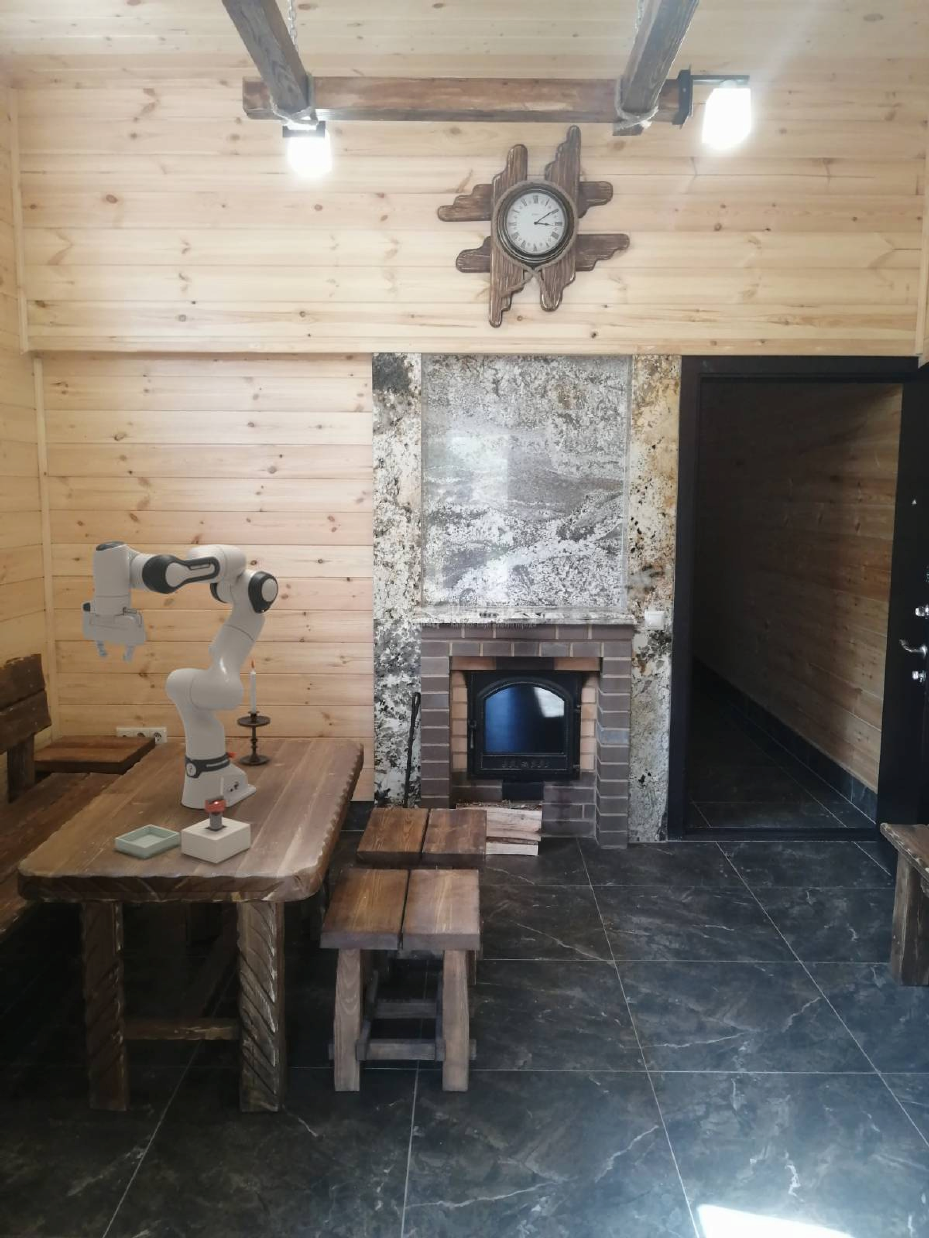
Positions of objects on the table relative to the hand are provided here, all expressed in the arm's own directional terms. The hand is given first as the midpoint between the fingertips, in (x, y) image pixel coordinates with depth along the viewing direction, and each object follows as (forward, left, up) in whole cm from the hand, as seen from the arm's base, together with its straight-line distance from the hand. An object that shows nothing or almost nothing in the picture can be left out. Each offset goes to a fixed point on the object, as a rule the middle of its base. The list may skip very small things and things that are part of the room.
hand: (115, 659), depth 228 cm
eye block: (-7, +28, -48) cm, 55 cm away
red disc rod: (-7, +28, -48) cm, 55 cm away
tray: (+1, +12, -48) cm, 49 cm away
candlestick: (-66, -14, -48) cm, 82 cm away
